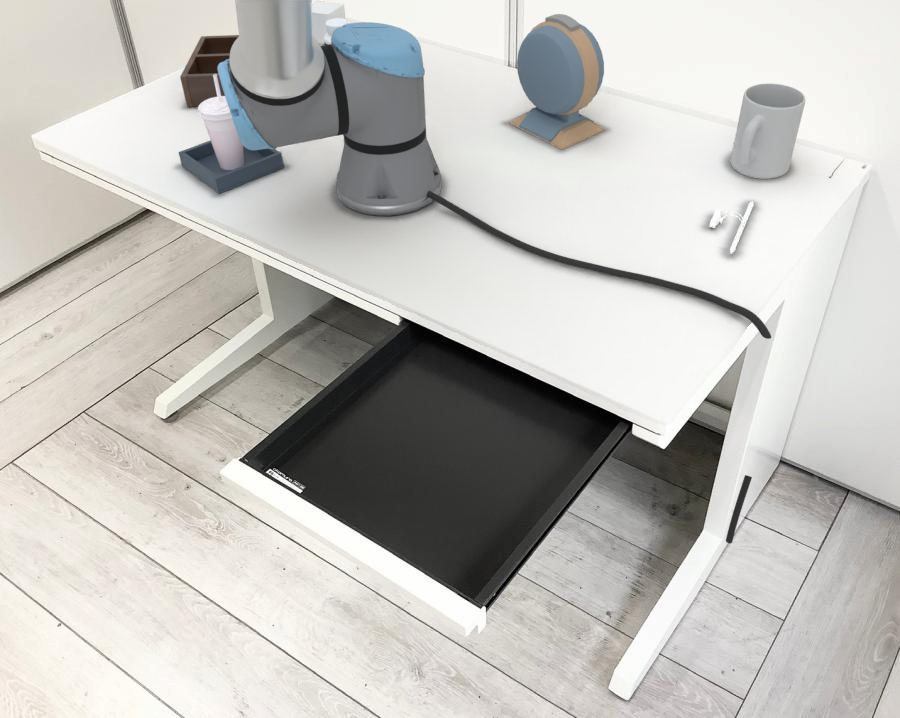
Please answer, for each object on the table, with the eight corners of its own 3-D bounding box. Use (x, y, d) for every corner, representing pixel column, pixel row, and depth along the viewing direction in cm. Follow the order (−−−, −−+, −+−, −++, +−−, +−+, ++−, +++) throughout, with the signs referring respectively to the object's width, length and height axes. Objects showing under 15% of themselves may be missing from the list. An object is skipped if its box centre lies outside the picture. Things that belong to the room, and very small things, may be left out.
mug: (745, 146, 138) (759, 77, 130) (798, 162, 133) (816, 92, 126) (709, 177, 131) (722, 107, 123) (764, 195, 126) (780, 123, 119)
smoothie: (257, 154, 139) (241, 67, 130) (246, 175, 134) (229, 86, 125) (217, 153, 139) (198, 67, 130) (205, 174, 135) (184, 85, 125)
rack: (241, 105, 153) (236, 74, 150) (187, 107, 154) (179, 76, 150) (257, 63, 167) (252, 34, 163) (207, 65, 167) (200, 36, 164)
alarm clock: (609, 132, 142) (620, 21, 131) (566, 152, 138) (574, 38, 126) (547, 103, 151) (552, -3, 139) (504, 121, 146) (506, 12, 135)
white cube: (321, 30, 179) (317, 0, 175) (347, 34, 177) (344, 3, 173) (305, 41, 175) (301, 10, 171) (332, 45, 173) (328, 14, 169)
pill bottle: (323, 68, 165) (317, 19, 159) (350, 62, 166) (345, 14, 160) (333, 78, 161) (327, 29, 155) (360, 72, 163) (355, 24, 157)
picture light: (733, 256, 115) (736, 242, 114) (699, 249, 117) (702, 235, 115) (754, 204, 125) (757, 191, 123) (723, 198, 126) (726, 185, 125)
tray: (284, 167, 136) (281, 153, 135) (218, 194, 131) (215, 179, 129) (245, 142, 143) (242, 128, 141) (181, 166, 138) (178, 152, 136)
